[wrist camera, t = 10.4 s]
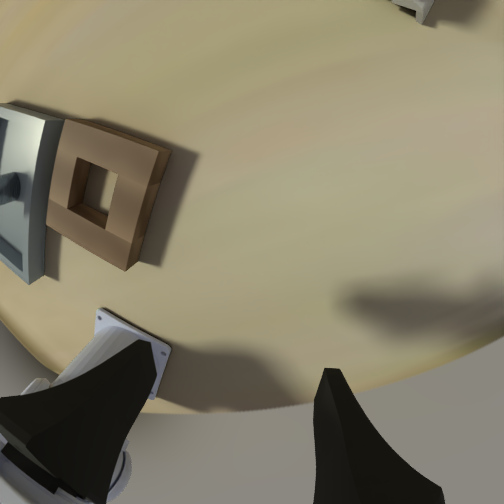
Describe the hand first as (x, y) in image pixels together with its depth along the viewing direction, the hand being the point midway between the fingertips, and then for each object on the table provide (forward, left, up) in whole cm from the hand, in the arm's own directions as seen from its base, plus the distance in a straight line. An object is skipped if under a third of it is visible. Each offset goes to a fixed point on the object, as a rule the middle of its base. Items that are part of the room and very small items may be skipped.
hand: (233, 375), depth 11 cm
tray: (-3, +26, -10) cm, 28 cm away
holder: (+1, +14, -10) cm, 17 cm away
